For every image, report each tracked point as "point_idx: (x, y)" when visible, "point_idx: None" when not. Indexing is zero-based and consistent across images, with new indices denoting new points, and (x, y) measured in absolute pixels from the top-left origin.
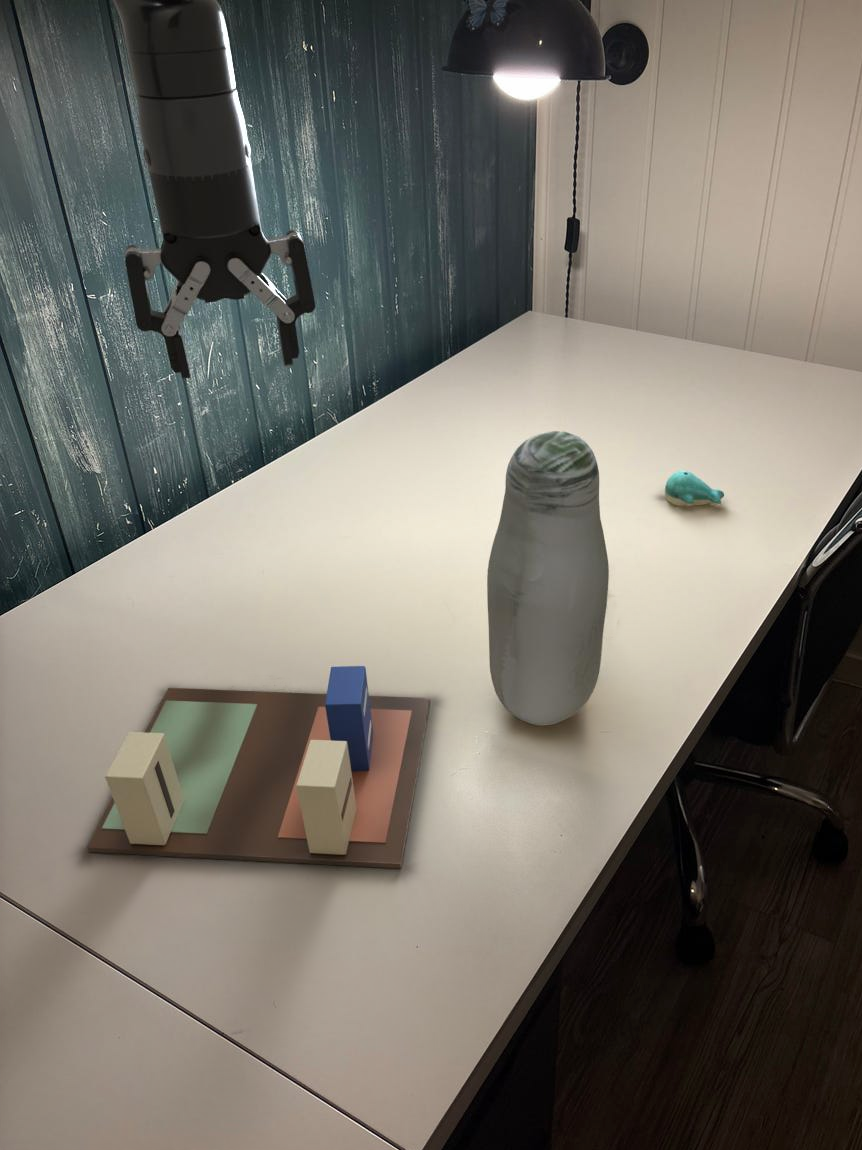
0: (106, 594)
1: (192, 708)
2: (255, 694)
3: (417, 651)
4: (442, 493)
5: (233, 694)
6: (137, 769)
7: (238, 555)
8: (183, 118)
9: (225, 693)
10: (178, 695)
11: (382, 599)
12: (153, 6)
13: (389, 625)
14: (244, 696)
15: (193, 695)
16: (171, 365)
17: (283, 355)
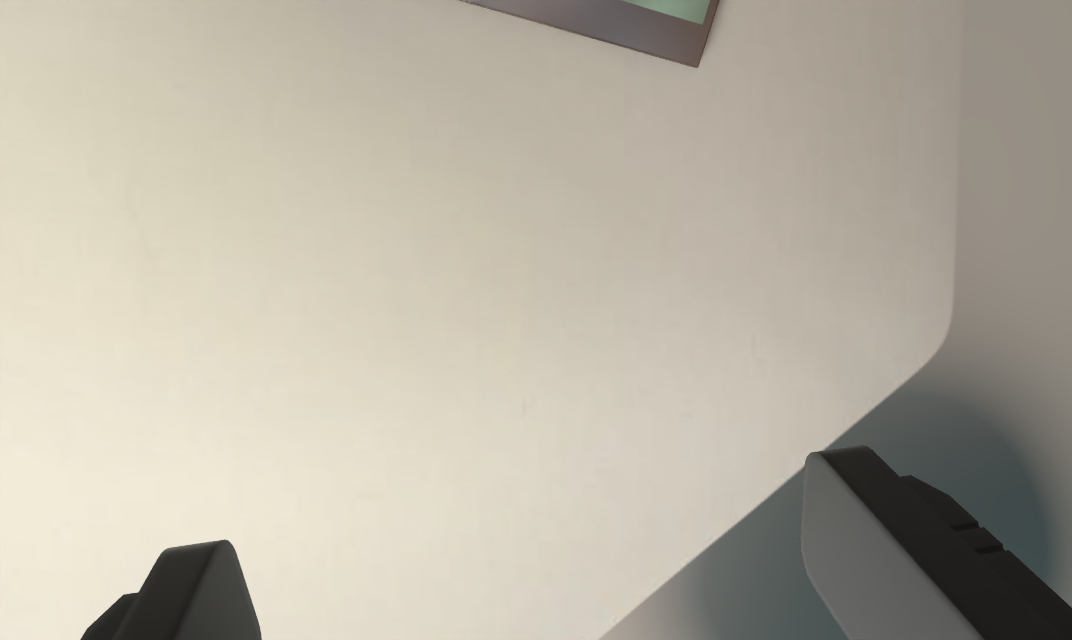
0: (798, 379)
1: None
2: (534, 9)
3: (205, 103)
4: None
5: (577, 17)
6: None
7: (569, 463)
8: None
9: (592, 25)
10: (679, 38)
11: (287, 289)
12: None
13: (269, 201)
14: (555, 7)
15: (652, 31)
16: (951, 506)
17: (199, 586)
